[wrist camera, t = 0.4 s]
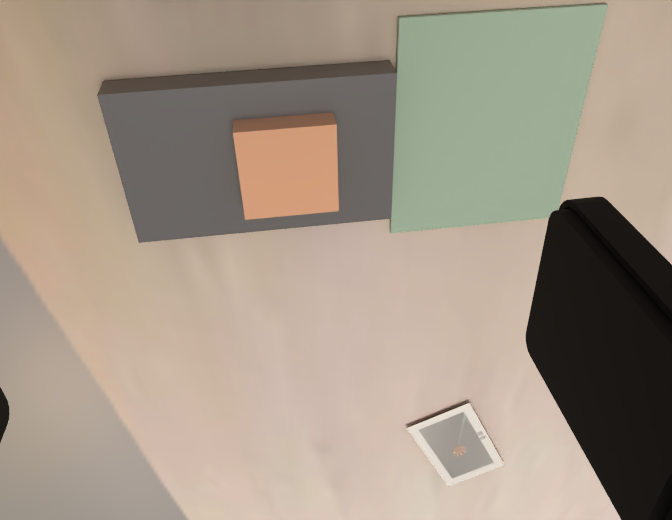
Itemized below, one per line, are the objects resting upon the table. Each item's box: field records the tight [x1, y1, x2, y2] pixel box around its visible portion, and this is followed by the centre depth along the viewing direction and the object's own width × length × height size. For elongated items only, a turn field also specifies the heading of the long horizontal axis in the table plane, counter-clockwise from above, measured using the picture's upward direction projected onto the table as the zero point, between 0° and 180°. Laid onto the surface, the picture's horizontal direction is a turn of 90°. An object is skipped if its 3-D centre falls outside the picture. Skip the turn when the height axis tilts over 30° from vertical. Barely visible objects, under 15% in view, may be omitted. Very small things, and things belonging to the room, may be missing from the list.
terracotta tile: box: [233, 112, 339, 220], centre depth 43 cm, size 7×7×2 cm
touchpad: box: [407, 403, 504, 486], centre depth 73 cm, size 8×15×2 cm, turn 26°
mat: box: [390, 3, 608, 233], centre depth 47 cm, size 18×15×1 cm
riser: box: [97, 60, 397, 243], centre depth 45 cm, size 12×20×2 cm, turn 92°
